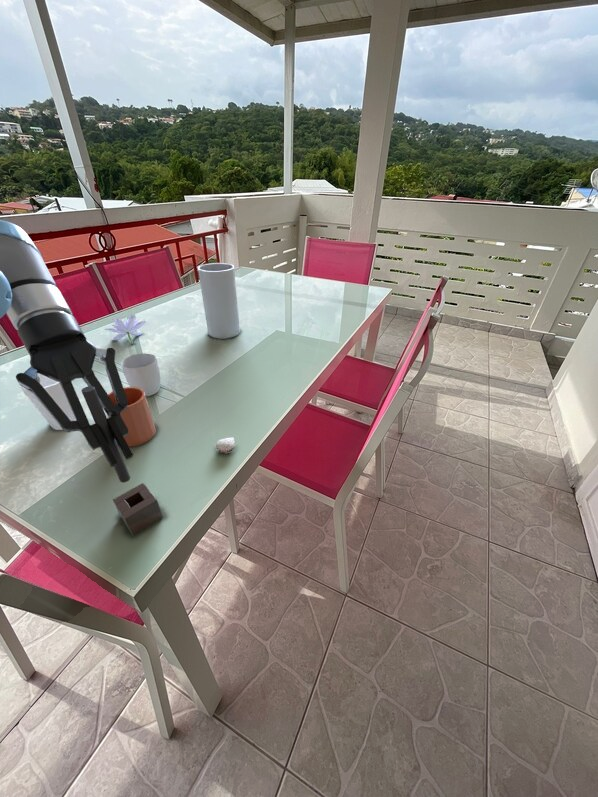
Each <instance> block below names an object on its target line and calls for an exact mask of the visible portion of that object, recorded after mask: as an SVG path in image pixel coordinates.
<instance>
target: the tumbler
mask: <svg viewBox="0 0 598 797" xmlns="http://www.w3.org/2000/svg"><path fill="white" fill-rule="evenodd" d="M123 388H124V391H125V394H126V397H127V400H128V406H127V409H126V410H124V411H123V412H122V413H121V414H120V415H121V417H122V419H123V421H124V423H125V425H126V426H127V428H128V435H126V436H124V439H125V441H126V443H127V444H128V446H129V447H137V446H140V445H142V444H145V443H147V442H148V441H151V439H152V438H153V437H154V436H155V434H156V431H157V429H156V425H155V421H154V419H153V415H152V411H151V409H150V406H149V402H148V399H147V396H146V395H145V392H144V391H143V390H142V389H141V388H137V387H130V386H128V387H123ZM107 394H108V396H109V397H110V399H111V400H112V402H113V403H114V405H116V404H117V402H116V399H115V396H114V393H113V391H111V392H109V393H107ZM106 417H107V418H109V416H108V415H107V414H106Z"/></svg>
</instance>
